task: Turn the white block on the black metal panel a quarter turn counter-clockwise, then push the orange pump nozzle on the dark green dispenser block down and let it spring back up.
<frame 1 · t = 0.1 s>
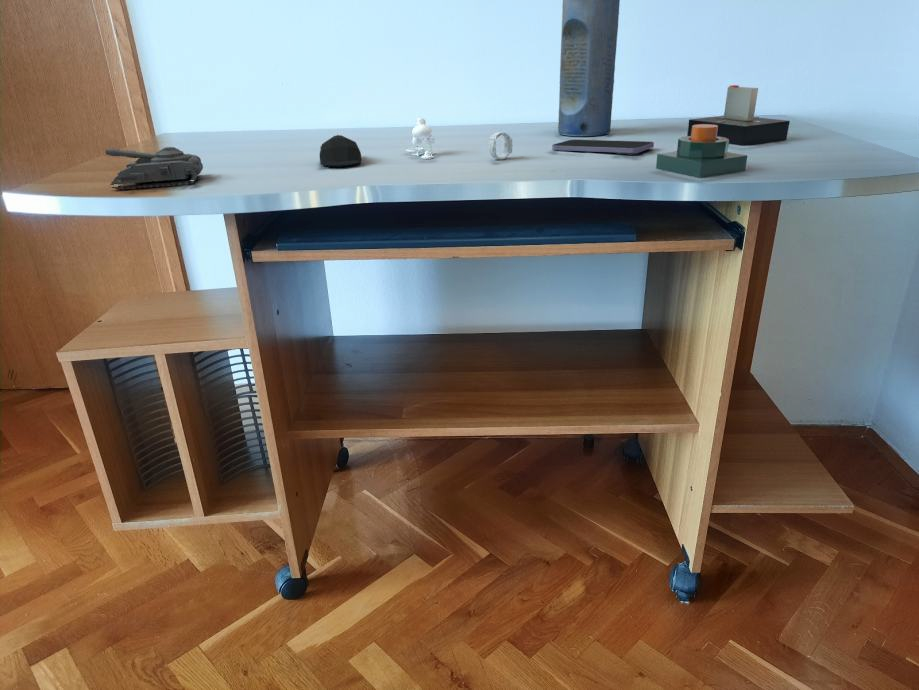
nozzle: (704, 134, 84), point 5 cm above the table, slide at 0.1 cm
smartwatch: (500, 160, 99), on the table
gaming mouse: (340, 161, 103), on the table
smartphone: (601, 151, 103), on the table
tank toy: (160, 183, 92), on the table
dial panel: (735, 138, 108), on the table
figurine: (422, 155, 105), on the table
bottle: (584, 134, 120), on the table
dispenser: (699, 169, 86), on the table
white block: (740, 103, 105), point 6 cm above the table, hinge at 0.0°
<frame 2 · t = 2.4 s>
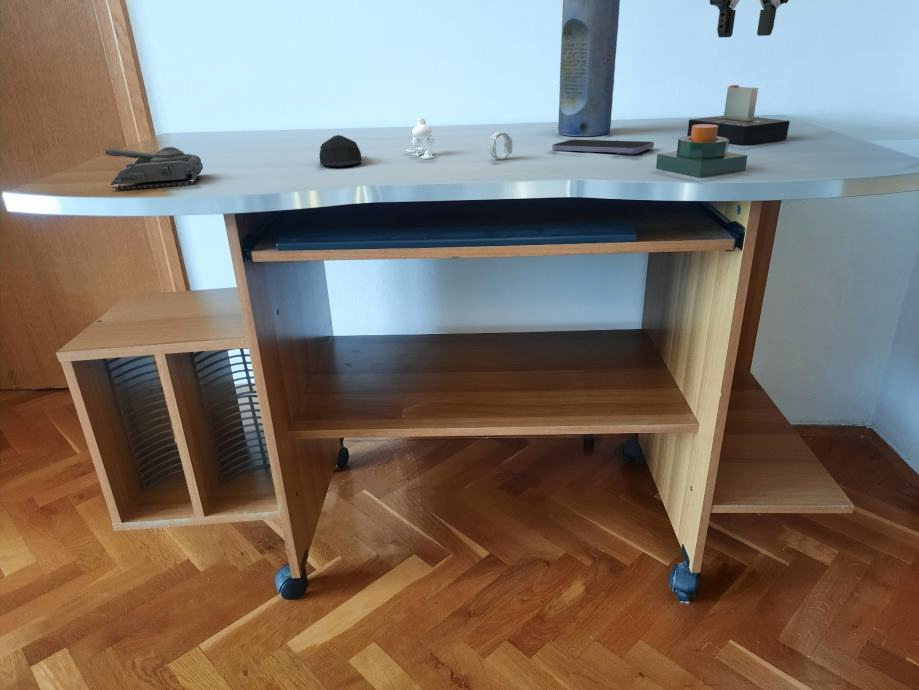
hand: (744, 36, 100), 16 cm above the table, tool pointing down, fingers open, 8 cm apart
nothing on the table moved.
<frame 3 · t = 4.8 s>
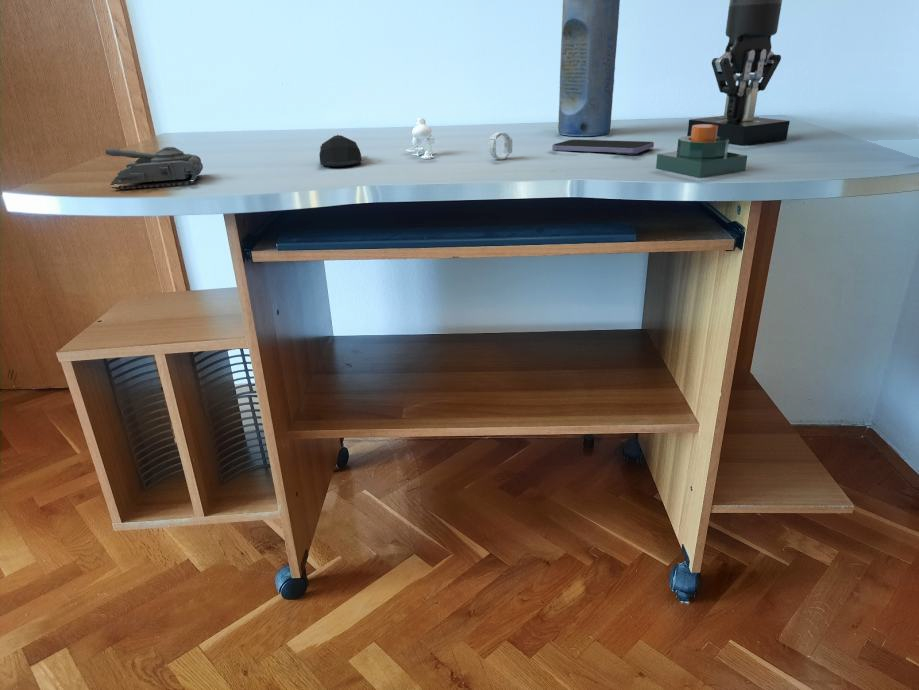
hand: (738, 119, 107), 3 cm above the table, tool pointing down, fingers closed
white block: (740, 103, 105), point 6 cm above the table, hinge at 0.1°, touching gripper
everything else where it was.
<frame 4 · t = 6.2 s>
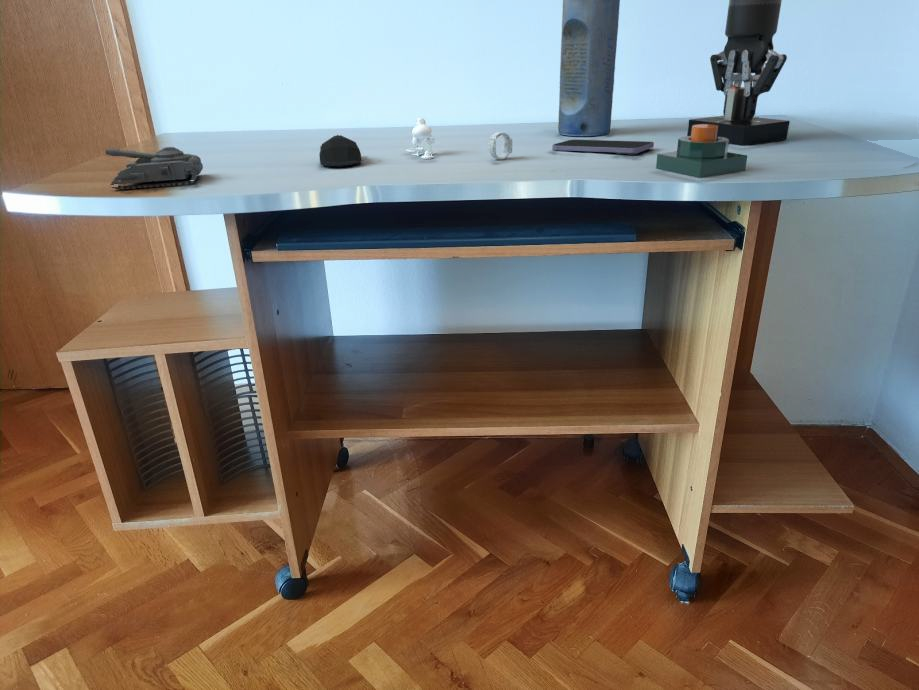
hand: (737, 119, 106), 3 cm above the table, tool pointing down, fingers closed
white block: (740, 103, 105), point 6 cm above the table, hinge at 89.9°
everything else where it was.
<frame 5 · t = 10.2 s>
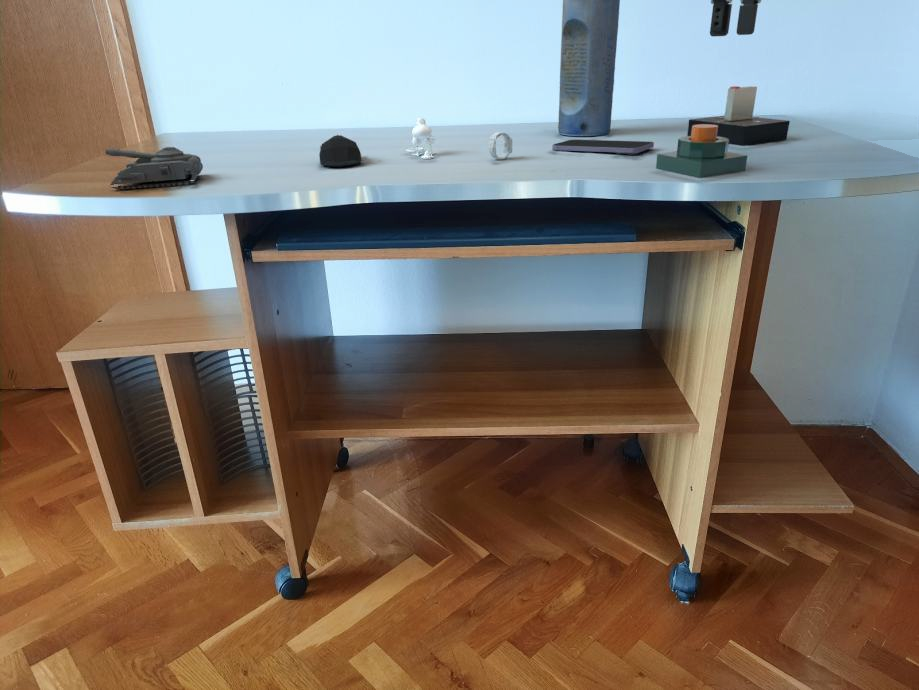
hand: (732, 35, 87), 16 cm above the table, tool pointing down, fingers open, 8 cm apart
nothing on the table moved.
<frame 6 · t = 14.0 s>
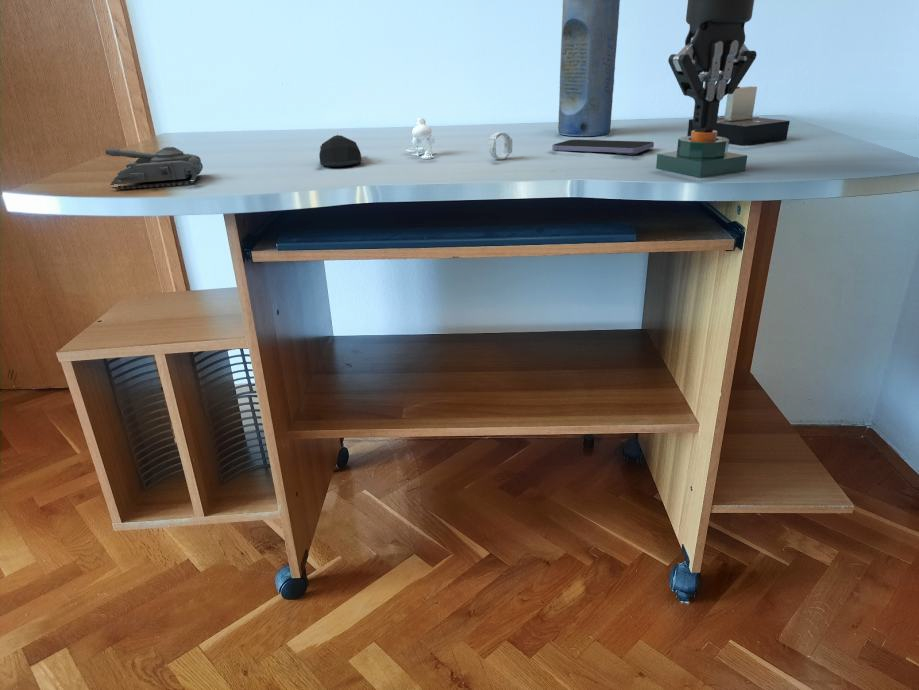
hand: (703, 131, 83), 5 cm above the table, tool pointing down, fingers closed
nozzle: (703, 139, 84), point 4 cm above the table, slide at -0.6 cm, touching gripper
everything else where it was.
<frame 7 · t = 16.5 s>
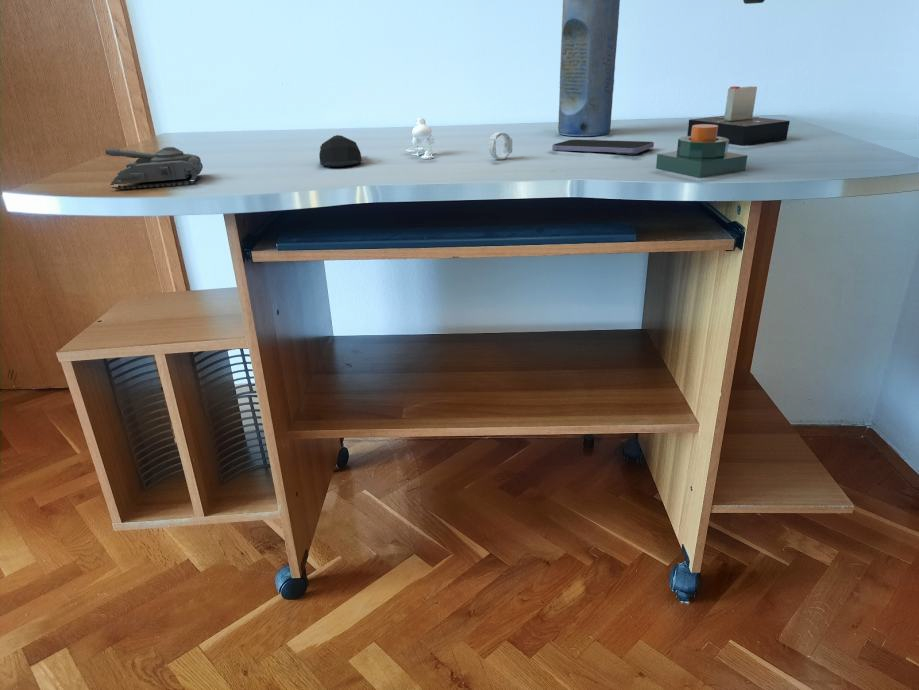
hand: (753, 3, 83), 20 cm above the table, tool pointing down, fingers closed
nozzle: (704, 134, 84), point 5 cm above the table, slide at 0.1 cm
everything else where it was.
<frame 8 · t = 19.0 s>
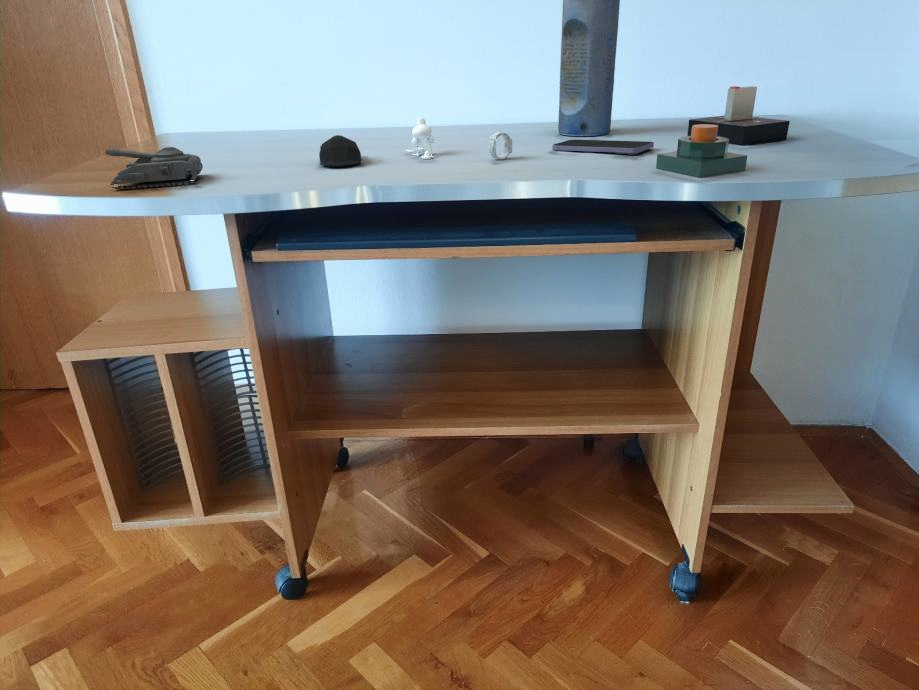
nothing on the table moved.
at the end: white block at +90° (first picture: +0°); nozzle pushed in 1.3 cm at the most during the clip, back to where it started at the end; nozzle slide at 0.1 cm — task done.
